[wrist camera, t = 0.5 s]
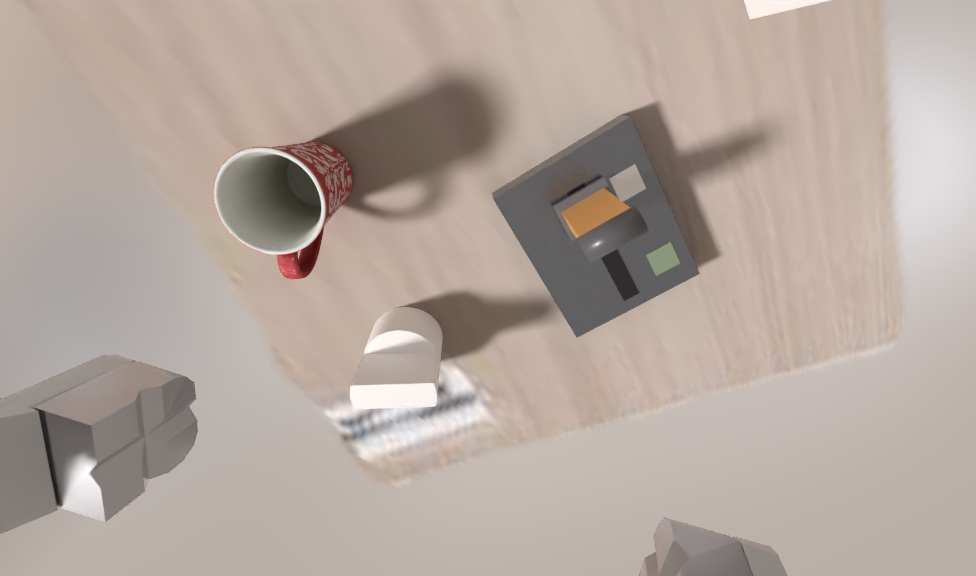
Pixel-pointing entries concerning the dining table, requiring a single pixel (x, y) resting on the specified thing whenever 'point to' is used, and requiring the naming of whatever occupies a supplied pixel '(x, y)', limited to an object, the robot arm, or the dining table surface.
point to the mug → (283, 200)
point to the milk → (775, 6)
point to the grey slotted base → (561, 262)
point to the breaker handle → (599, 220)
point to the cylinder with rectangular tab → (399, 362)
